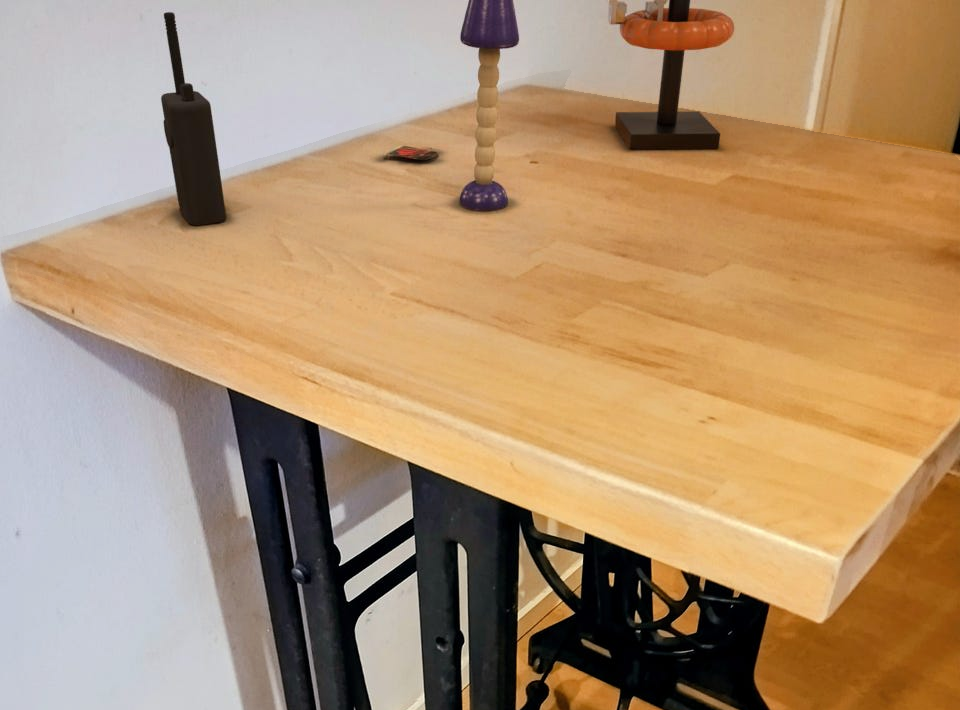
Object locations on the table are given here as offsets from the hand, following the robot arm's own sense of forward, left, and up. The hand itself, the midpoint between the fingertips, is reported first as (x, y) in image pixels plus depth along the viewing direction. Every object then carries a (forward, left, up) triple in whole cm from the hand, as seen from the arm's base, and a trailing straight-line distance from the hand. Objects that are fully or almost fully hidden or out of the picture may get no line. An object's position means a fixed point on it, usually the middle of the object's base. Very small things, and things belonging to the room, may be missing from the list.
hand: (634, 23), depth 99 cm
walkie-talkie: (+40, +23, -11) cm, 47 cm away
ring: (-4, 0, 0) cm, 4 cm away
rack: (-4, 0, -11) cm, 11 cm away
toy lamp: (+16, +21, -11) cm, 28 cm away
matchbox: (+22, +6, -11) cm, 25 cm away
